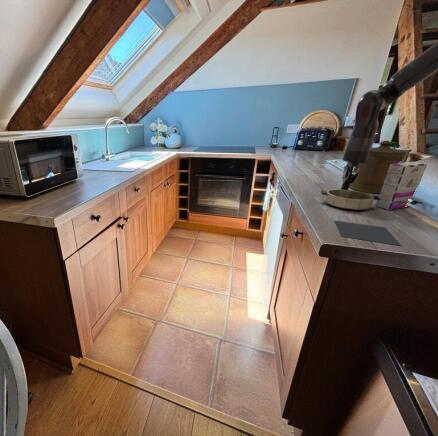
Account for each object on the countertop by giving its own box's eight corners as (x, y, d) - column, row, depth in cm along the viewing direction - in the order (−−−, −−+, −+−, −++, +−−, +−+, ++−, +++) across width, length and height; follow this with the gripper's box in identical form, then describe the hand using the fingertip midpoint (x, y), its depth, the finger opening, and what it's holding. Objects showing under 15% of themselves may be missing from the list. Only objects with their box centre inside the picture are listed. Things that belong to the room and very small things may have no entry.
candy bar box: (394, 203, 96) (411, 161, 89) (410, 207, 91) (429, 163, 85) (373, 206, 93) (389, 163, 87) (388, 210, 89) (406, 165, 82)
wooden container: (394, 195, 104) (415, 142, 96) (351, 191, 112) (366, 141, 103) (386, 187, 116) (403, 139, 108) (347, 184, 123) (361, 138, 115)
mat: (385, 227, 75) (385, 227, 75) (401, 246, 65) (401, 245, 65) (334, 220, 81) (334, 220, 81) (341, 236, 70) (341, 236, 70)
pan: (369, 203, 96) (372, 192, 95) (381, 215, 85) (385, 202, 83) (316, 197, 104) (319, 187, 102) (321, 208, 92) (324, 196, 90)
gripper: (375, 152, 86) (358, 198, 93) (366, 146, 96) (351, 188, 104) (349, 151, 89) (334, 195, 96) (342, 145, 100) (330, 186, 107)
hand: (343, 191), depth 100 cm, fingers closed
